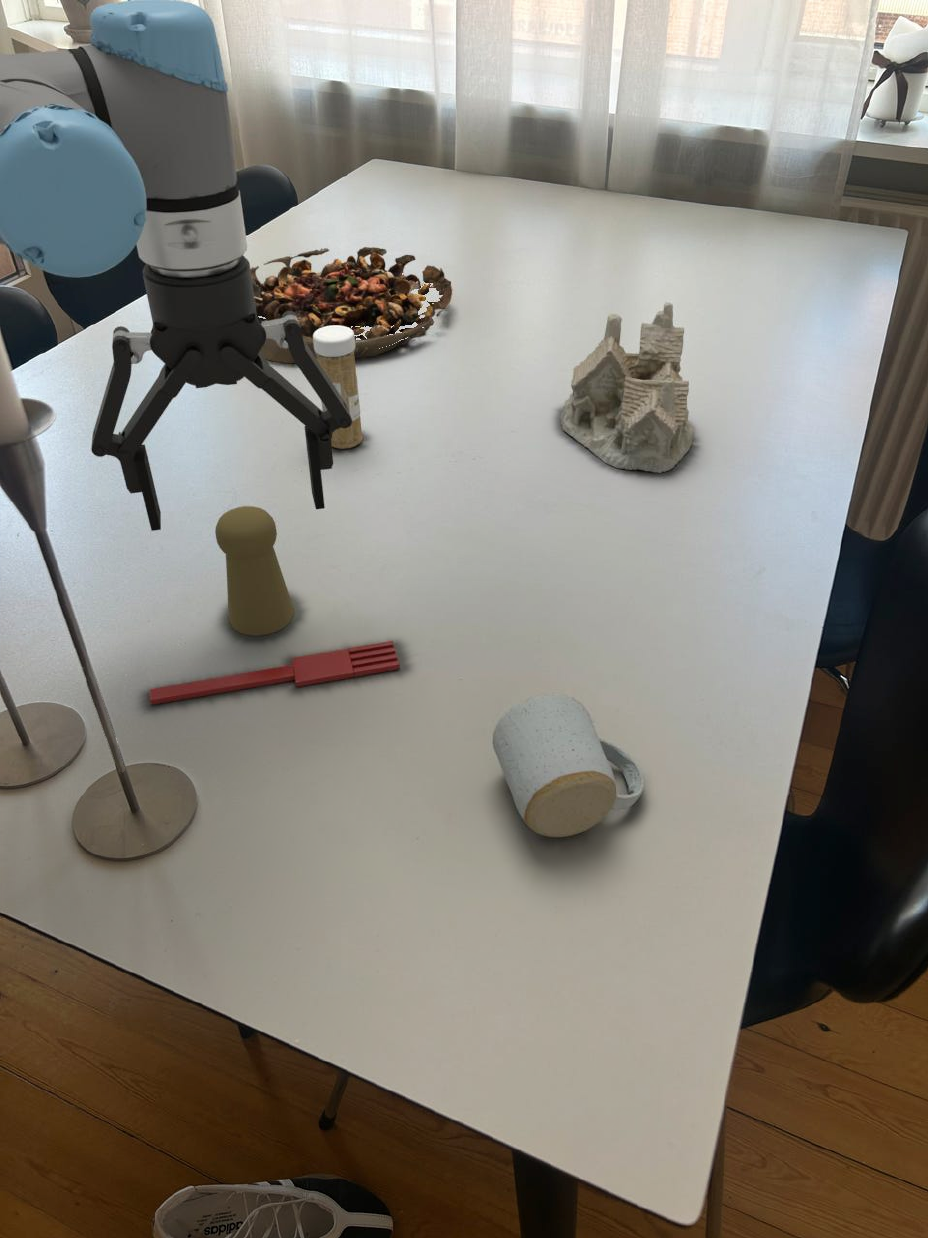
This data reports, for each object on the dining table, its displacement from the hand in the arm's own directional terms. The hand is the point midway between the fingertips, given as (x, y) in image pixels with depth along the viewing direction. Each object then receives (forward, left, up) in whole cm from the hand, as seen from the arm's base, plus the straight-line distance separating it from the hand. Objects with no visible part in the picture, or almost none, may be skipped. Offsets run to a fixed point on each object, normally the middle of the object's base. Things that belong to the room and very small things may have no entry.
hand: (238, 511), depth 82 cm
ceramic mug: (+28, -20, -12) cm, 36 cm away
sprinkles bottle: (+4, +33, -12) cm, 35 cm away
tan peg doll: (0, 0, -12) cm, 12 cm away
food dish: (-2, +69, -12) cm, 70 cm away
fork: (+3, -8, -12) cm, 15 cm away
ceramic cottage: (+37, +35, -12) cm, 52 cm away
